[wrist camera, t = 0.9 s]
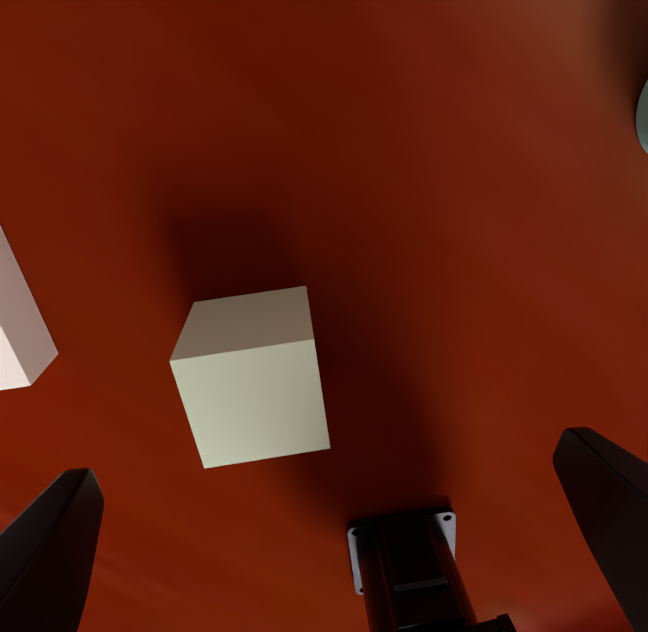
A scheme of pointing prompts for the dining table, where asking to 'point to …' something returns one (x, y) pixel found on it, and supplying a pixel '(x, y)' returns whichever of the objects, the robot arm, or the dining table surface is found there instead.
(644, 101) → the cupcake
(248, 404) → the cube
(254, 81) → the dining table surface
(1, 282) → the tray
